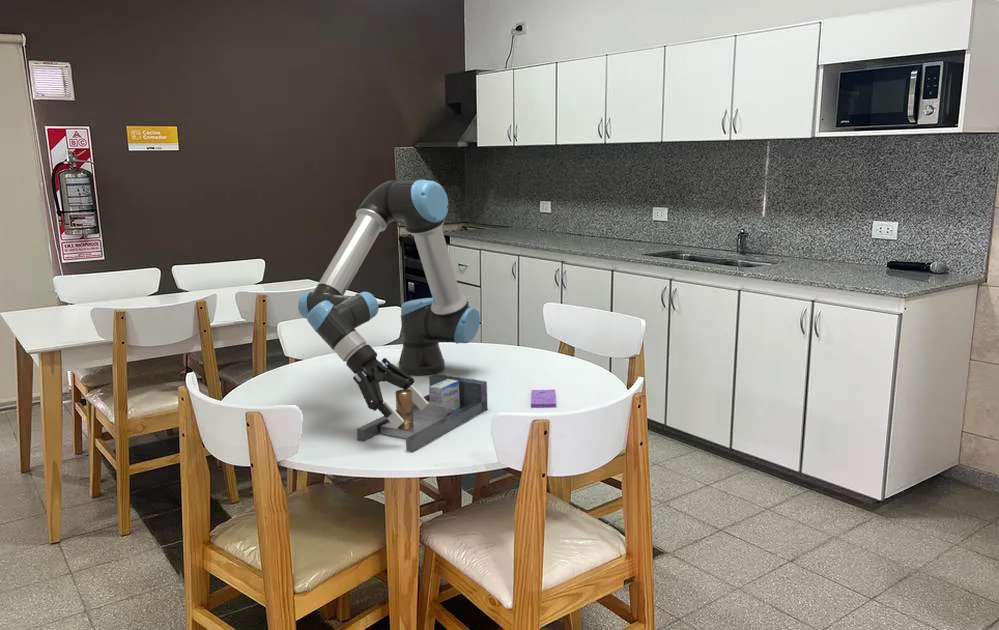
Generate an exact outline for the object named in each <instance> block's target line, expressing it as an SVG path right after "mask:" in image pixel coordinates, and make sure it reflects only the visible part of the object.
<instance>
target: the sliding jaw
mask: <svg viewBox="0 0 999 630" xmlns="http://www.w3.org/2000/svg"><path fill="white" fill-rule="evenodd" d="M427 402H428V403H429V404H428V405H427V406H426V407H425V408H424V409H423V410H422V411H421V410H420V409H419V408H418V407H417V406H416V404H415V403H414V402H413V401H412V391H411V390H407V389H399V390H396V391H395V404H396V407H395V408H396V409H395V410H397V413H398V414H399V415H400V416H401V418H402V419H403V420H404V422H403V423H402V424H401V425H400V426H399V427H398V428H397V429H396V428H395V427H394V426H393V424H392V423H391V422H390V421H389V422H387V423H385V424H383V425H381V426H380V429H381V433H380V434H381V435H382V434H383V435H388V436H391V437H397V438H403V439H406V438H408V437H410V436H412V435H413V434H415V433H417V432H419V431H421V430H423V429H425V428H426V427H428V426H430V425H432V424H434V423H436V422H438V421H439V420H441V419H443V418H445V417H447V416H449V415H451V405H450V404H444V403H438V402H432V401H427Z"/></svg>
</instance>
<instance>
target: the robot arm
mask: <svg viewBox="0 0 999 630" xmlns="http://www.w3.org/2000/svg"><path fill="white" fill-rule="evenodd" d="M448 206H449V199H448V195H447V193H446V190H445V188H443V186H442V185H441V184H440V183H438V182H436V181H434V180H427V179H415V180H411V179H410V180H397V179H395V180H388V181H385V182H383V183H381V184H380V185H378V186H377V187H376V188H374V189H373V190H372V191H371V192H370V193H369V194H368V195H367V196H366V197H365V198H364V199H363V201H362V203H361V204H359V207H358V209H357V210H356V212H355V218H356V219H355V220H354V222H353V224H352V226H351V228H350V229H349V231H348V232H347V234H346V236H345V238H344V239H343V241H342V243H341V245H340V246H339V248H338V250H337V251H336V253H335V254H334V256H333V258H332V260H331V261H330V263H329V265H328V266H327V268H326V269H325V272H324V273H323V275H322V277H321V279H320V280H319V281H318V284H317V286H315V288H314V290H313V291H307V292H305V293H303V294H301V296H300V298H299V299H298V303H297V309H298V313H299V315H300V316H301V317H302V318H303V319H306V320H307V322H308V324H309V325H310V326H311V328H312V329H313V330H314V332H315V333H317V335H319V337H320V338H321V339H323V341H324V342H325V344H327V345H328V346H329V347H330V348H331V349H332V351H334V353H336V355H337V356H338V357H339V359H341V360H342V361H343V362H346V363H345V364H346V366H347V367H348V368H349V370H351V372H352V373H353V374H355V375H354V376H353V377H352V378H353V381H354V382H355V383H356V384H357V386H358V388H359V390H360V393H361V394H362V397H363V398H364V399H363V400H364V401H365V403H366V405H367V408H368V409H369V410H372V411H373V412H376V411H377V410H378V411H379V412H380V413H381V414H382V415H383V416H385V417H386V418H387V419H388V420H389V421H390V422H391V423H392V424H393V426H394V427H395V428H396V429H397V428H398V427H399V426H400V425H401V424H402V423H403V422H404V420H403V419H402V418H401V416H400V415H399V414H398V413H397V412H396V411H395V410H396V409H394V408H393V406H392V405H391V404H390V403H389V402H388V401H387V400H385V401H384V397H383V392H382V390H381V385H380V383H382V382H383V383H384V382H387V383H390V385H391V384H392V385H394V386H396V387H398V388H400V389H401V390H403V389H407V390H411V391H412V401H413V402H414V403H415V404H416V406H417V407H418V408H419V409H420V410H421V411H422V410H423V409H424V408H425V407H426V406H427V405H428V404H429V403H428V402H427V401H426V400H425V399H424V396H423V395H422V394H421V393H420V392H419V390H417V388H416V387H415V386H414V385H413V384H414V383H415V379H414V378H413V377H412V376H425V375H434V374H438V373H440V372H442V371H444V370H445V368H446V364H445V359H444V356H443V354H442V351H441V348H440V344H439V342H447V343H454V344H468V343H471V342H472V341H473V340H474V339H475V337H476V336H477V334H478V331H479V327H480V324H481V323H480V320H481V317H480V311H479V310H478V309H477V308H475V307H474V306H470V305H469V302H468V298H467V297H466V295H464V294H462V293H461V292H460V288H459V284H458V281H457V278H456V274H455V271H454V266H453V263H452V260H451V257H450V252H449V248H448V245H447V242H446V238H445V235H444V232H443V228H442V227H443V225H444V223H445V218H446V217H447V215H448V212H449V209H448ZM395 221H396V222H399V221H401V222H403V223H404V227H405V230H406V232H407V233H408V234H409V235H413V238H414V241H415V242H414V243H415V245H416V249H417V251H418V255H419V259H420V262H421V264H422V268H423V272H424V274H425V278H426V280H427V284H428V286H429V290H430V291H429V292H430V294H431V297H425V298H424V297H423V298H418V299H411V300H409V301H406V302H403V303H402V304H401V307H400V323H401V336H402V349H401V354H400V358H399V360H398V367H397V366H396V365H394V364H393V363H391V362H390V361H389V360H388V359H387V358H386V357H384V358H382V359H381V360H380V361H379V360H378V359H377V357H378V353H377V352H376V351H375V350H374V348H373V347H372V346H371V345H370V344H367V340H366V339H365V338H364V337H363V335H361V334H360V333H359V332H358V331H357V330H356V329H357V328H358V327H360V326H362V325H364V324H366V323H369V322H370V321H371V320H372V319H373V318H375V317H376V316H377V315H378V313H379V303H378V300H377V298H376V297H375V295H373V294H372V293H371V292H368V291H362V292H358V293H356V294H355V295H345V294H346V292H347V290H348V289H349V287H350V284H351V283H352V281H353V279H354V278H355V276H356V274H357V272H359V268H360V267H361V265H362V264H363V262H364V260H365V258H366V256H367V255H368V253H369V251H370V250H371V248H372V246H373V244H374V243H375V241H376V239H377V238H378V236H379V234H380V232H384V231H385V230H386V229H387V228H388V226H389V224H390V223H392V222H395Z"/></svg>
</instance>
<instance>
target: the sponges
mask: <svg viewBox="0 0 999 630" xmlns="http://www.w3.org/2000/svg"><path fill="white" fill-rule="evenodd" d="M530 391H531V392H530V408H531V409H534V408H535V409H540V408H541V409H546V408H548V409H549V408H557V402H556V401H557V400H556V389H554V388H552V389H530Z"/></svg>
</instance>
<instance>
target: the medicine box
mask: <svg viewBox="0 0 999 630" xmlns="http://www.w3.org/2000/svg"><path fill="white" fill-rule="evenodd" d="M428 394H429V398H430V401H432V402H438V403H444V404H450V405H451V414H452V413H454V412H456V411H458V410H460V399H459V381H456V380H451V379H446V380H444V381H441V382H439V383H437V384H434V385H432V386H430V387H429V386H428Z"/></svg>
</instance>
